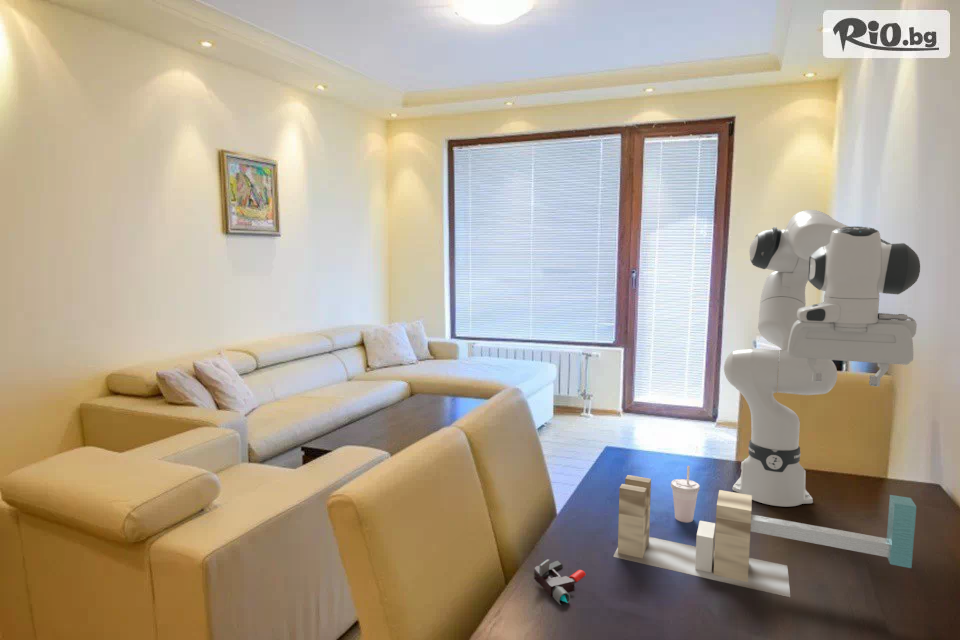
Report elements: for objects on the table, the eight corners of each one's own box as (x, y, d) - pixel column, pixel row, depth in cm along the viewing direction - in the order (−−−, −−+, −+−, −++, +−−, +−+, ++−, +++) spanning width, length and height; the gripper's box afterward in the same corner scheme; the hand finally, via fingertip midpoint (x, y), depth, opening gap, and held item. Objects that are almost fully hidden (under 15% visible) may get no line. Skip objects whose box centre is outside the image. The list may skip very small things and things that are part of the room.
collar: (698, 552, 117) (699, 520, 117) (713, 555, 116) (715, 523, 115) (695, 568, 111) (696, 535, 110) (711, 572, 110) (713, 538, 109)
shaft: (739, 526, 112) (741, 472, 111) (905, 557, 100) (910, 497, 99) (738, 534, 108) (741, 479, 107) (911, 568, 96) (916, 506, 95)
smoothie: (700, 530, 129) (702, 471, 128) (671, 528, 131) (673, 469, 129) (695, 518, 136) (698, 462, 134) (667, 516, 137) (669, 460, 136)
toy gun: (559, 611, 100) (559, 585, 99) (528, 577, 111) (528, 553, 110) (605, 599, 104) (605, 574, 103) (570, 567, 115) (571, 544, 114)
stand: (625, 536, 126) (627, 471, 125) (787, 571, 112) (791, 498, 111) (612, 562, 116) (614, 490, 114) (790, 603, 102) (794, 522, 100)
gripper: (913, 312, 106) (907, 384, 107) (789, 308, 115) (785, 375, 116) (921, 316, 100) (915, 392, 102) (790, 311, 109) (786, 381, 111)
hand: (845, 383), depth 109 cm, fingers open, 8 cm apart
